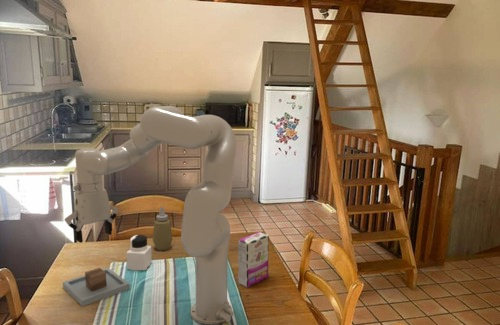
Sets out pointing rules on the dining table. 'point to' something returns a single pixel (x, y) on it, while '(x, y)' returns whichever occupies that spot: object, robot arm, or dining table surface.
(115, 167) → the robot arm
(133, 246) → the medicine bottle
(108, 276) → the tray
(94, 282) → the cube
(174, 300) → the dining table surface
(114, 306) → the dining table surface
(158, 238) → the squeeze bottle
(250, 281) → the candy bar box
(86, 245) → the dining table surface
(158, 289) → the dining table surface
